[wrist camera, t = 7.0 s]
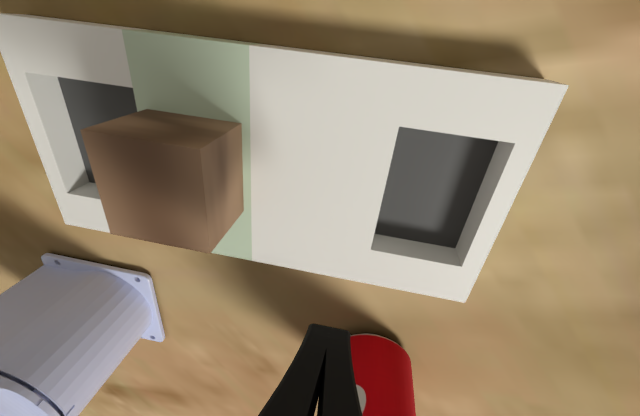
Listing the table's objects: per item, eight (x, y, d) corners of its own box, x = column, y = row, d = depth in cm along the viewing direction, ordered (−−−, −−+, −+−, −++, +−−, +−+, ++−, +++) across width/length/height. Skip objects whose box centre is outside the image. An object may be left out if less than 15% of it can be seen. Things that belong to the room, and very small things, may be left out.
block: (162, 196, 18) (110, 233, 15) (146, 108, 16) (79, 129, 12) (243, 210, 18) (210, 253, 14) (241, 123, 15) (200, 149, 12)
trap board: (89, 209, 22) (65, 224, 21) (27, 14, 16) (-15, 12, 15) (457, 279, 20) (465, 302, 18) (545, 78, 14) (568, 85, 12)
